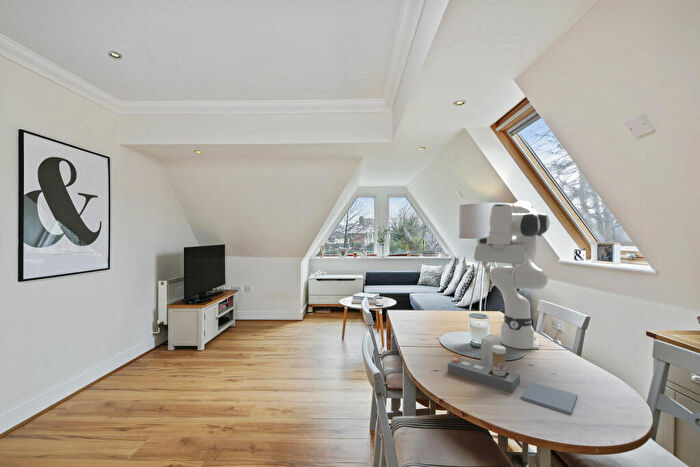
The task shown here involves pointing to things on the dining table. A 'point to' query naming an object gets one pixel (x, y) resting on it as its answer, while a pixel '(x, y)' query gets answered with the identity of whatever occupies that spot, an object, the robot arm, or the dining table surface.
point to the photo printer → (488, 348)
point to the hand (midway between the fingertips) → (498, 273)
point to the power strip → (483, 374)
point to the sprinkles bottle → (498, 361)
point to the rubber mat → (549, 397)
